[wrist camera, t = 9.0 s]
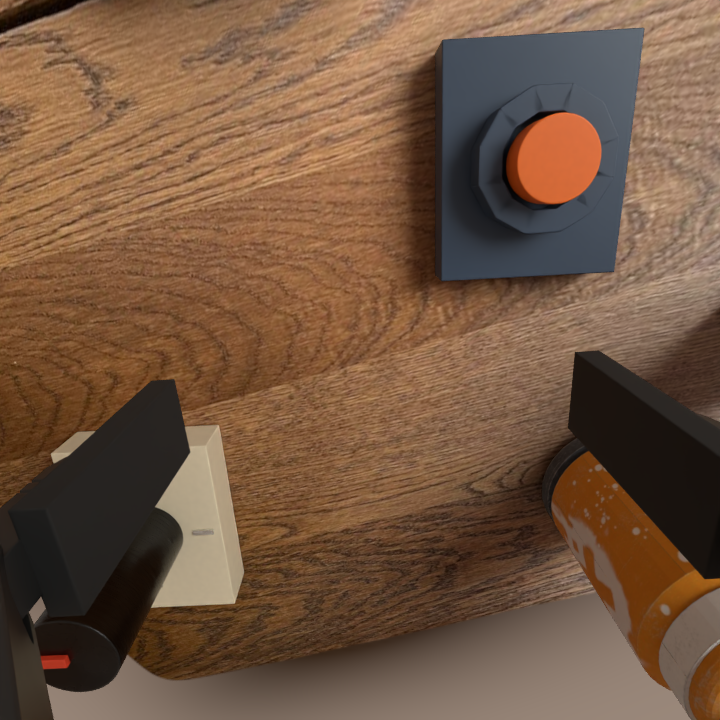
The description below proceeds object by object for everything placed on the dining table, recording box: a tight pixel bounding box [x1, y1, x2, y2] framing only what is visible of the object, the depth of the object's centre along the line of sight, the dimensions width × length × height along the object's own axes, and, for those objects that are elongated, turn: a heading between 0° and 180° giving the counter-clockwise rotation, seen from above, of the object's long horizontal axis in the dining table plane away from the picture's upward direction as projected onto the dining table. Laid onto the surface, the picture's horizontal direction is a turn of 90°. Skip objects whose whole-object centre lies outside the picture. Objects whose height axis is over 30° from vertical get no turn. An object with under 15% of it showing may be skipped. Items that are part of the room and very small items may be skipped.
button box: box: [435, 28, 644, 281], centre depth 25 cm, size 12×10×4 cm
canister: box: [542, 438, 720, 720], centre depth 24 cm, size 9×11×20 cm
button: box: [506, 112, 601, 204], centre depth 23 cm, size 4×4×2 cm
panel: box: [51, 425, 244, 607], centre depth 33 cm, size 13×10×3 cm
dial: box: [34, 507, 183, 692], centre depth 27 cm, size 5×5×9 cm
